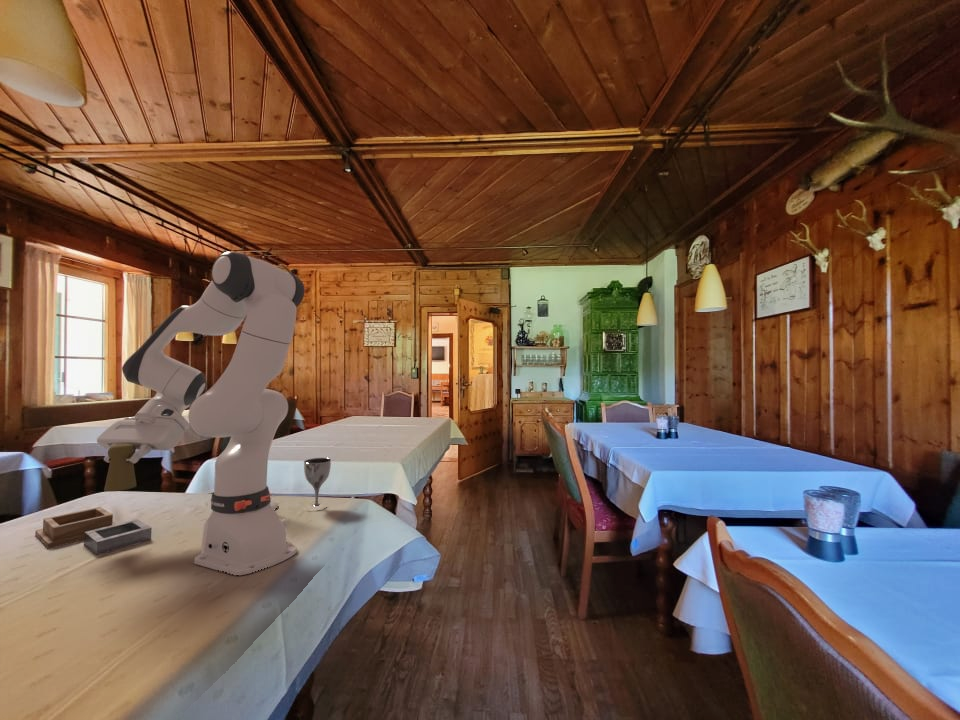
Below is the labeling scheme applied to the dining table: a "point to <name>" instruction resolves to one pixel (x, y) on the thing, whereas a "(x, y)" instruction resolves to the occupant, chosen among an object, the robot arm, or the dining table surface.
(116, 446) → the cork
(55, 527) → the walnut rack
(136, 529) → the socket block
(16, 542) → the dining table surface
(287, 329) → the robot arm
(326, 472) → the wine glass
